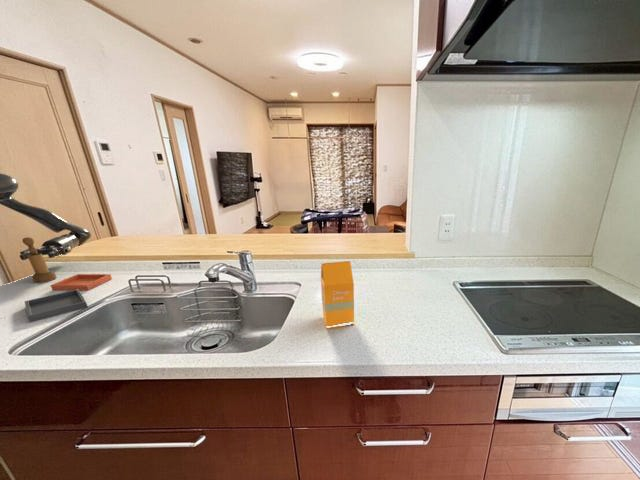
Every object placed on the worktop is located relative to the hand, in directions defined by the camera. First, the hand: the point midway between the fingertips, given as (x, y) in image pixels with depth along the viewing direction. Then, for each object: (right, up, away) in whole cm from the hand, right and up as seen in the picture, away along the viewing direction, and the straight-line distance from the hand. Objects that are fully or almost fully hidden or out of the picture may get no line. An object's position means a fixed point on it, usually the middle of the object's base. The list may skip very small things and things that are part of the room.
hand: (35, 256), depth 119 cm
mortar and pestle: (0, -10, +4) cm, 10 cm away
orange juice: (+125, -23, -25) cm, 130 cm away
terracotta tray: (+20, -11, 0) cm, 23 cm away
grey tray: (+28, -19, -18) cm, 38 cm away
